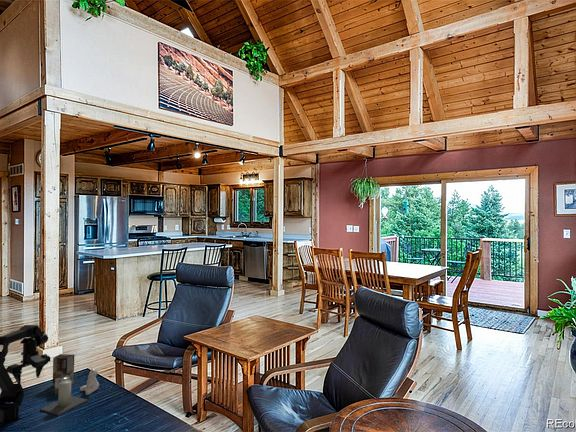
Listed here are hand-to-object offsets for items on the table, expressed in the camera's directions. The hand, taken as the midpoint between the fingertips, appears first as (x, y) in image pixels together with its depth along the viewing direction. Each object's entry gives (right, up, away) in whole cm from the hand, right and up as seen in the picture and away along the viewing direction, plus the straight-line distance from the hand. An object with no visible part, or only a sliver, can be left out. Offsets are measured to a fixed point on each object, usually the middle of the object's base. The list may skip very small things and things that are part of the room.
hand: (28, 380), depth 186 cm
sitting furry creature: (+21, -14, +19) cm, 32 cm away
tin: (+7, -14, +16) cm, 22 cm away
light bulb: (+18, -13, +1) cm, 22 cm away
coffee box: (+1, -14, +27) cm, 31 cm away
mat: (+18, -13, +1) cm, 22 cm away
